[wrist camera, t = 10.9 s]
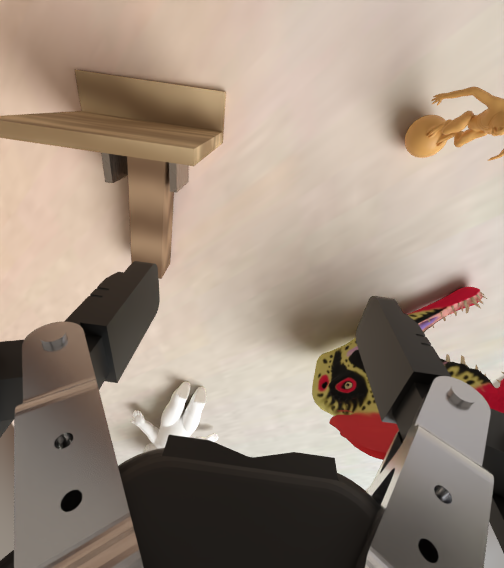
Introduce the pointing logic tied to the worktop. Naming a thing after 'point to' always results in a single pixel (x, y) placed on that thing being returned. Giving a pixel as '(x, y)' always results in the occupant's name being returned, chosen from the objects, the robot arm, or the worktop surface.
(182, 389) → the doll
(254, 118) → the worktop surface
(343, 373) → the toy
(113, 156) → the bracket
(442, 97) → the figurine
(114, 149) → the wooden angled panel
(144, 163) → the rail
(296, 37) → the worktop surface
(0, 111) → the worktop surface
